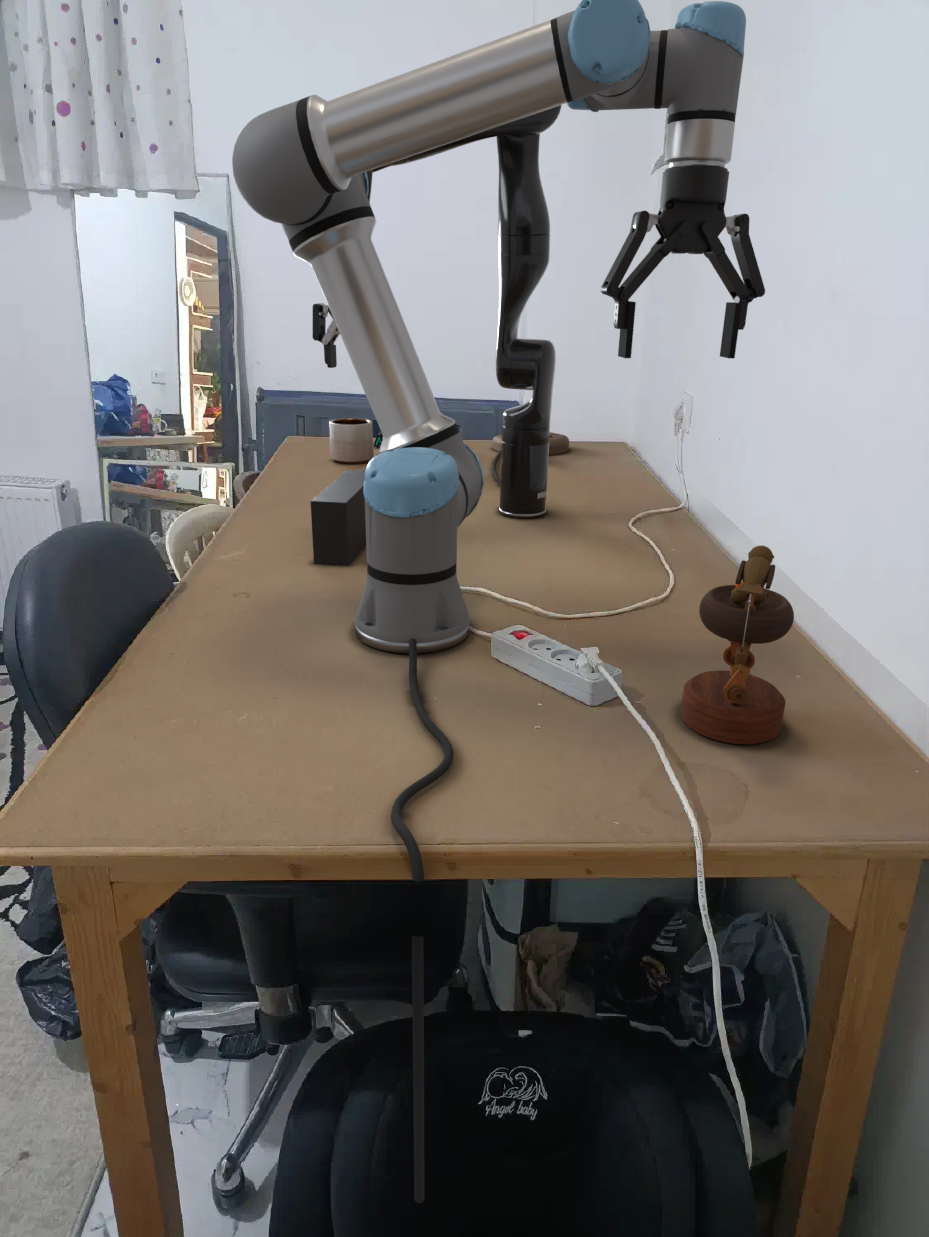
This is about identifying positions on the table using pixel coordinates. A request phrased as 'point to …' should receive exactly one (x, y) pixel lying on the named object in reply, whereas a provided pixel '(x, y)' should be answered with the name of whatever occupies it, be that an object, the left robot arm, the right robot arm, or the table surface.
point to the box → (339, 520)
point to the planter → (351, 440)
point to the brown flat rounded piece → (556, 443)
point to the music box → (740, 658)
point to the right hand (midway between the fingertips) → (353, 368)
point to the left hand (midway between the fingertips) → (676, 357)
